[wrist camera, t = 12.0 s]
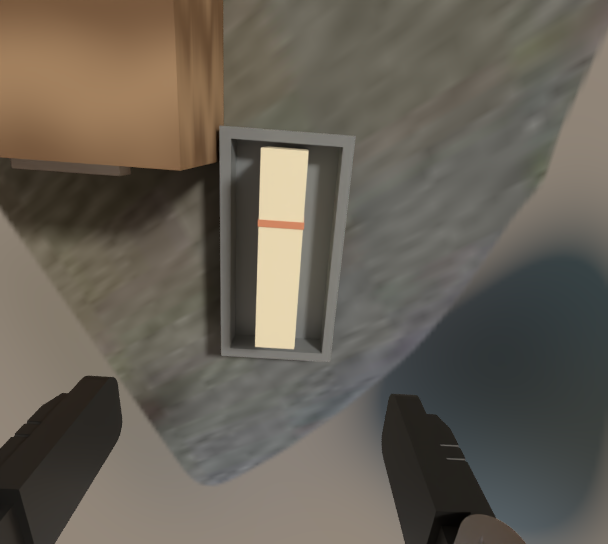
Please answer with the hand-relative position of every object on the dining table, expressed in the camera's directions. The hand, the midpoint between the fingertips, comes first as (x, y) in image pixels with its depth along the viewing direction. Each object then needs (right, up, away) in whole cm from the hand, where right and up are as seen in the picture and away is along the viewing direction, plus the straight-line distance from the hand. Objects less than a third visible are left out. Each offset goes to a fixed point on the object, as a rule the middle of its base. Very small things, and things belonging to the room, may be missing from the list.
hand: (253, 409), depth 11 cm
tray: (0, +6, +17) cm, 18 cm away
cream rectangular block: (0, +7, +16) cm, 17 cm away
